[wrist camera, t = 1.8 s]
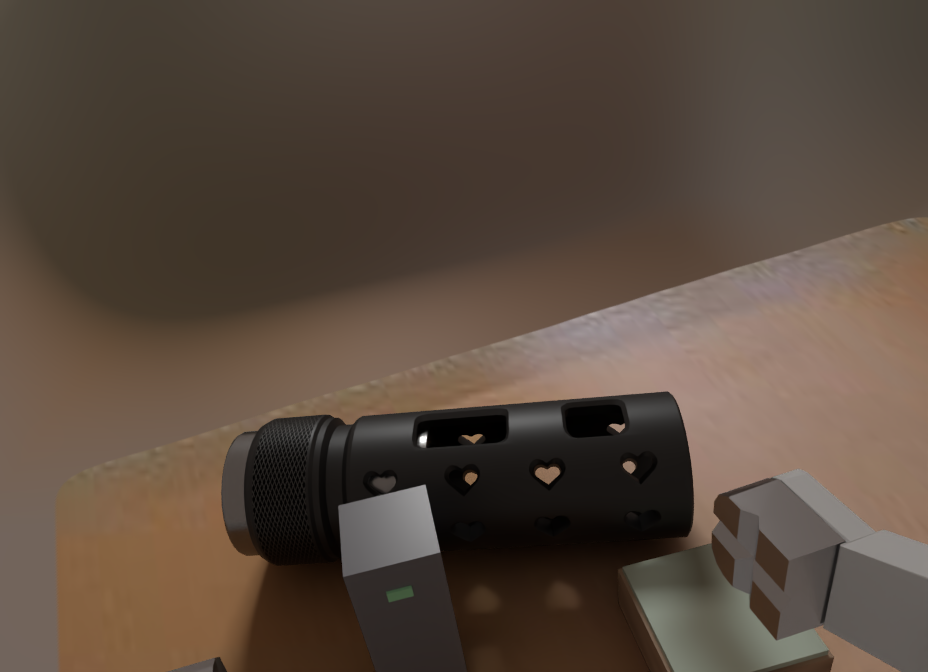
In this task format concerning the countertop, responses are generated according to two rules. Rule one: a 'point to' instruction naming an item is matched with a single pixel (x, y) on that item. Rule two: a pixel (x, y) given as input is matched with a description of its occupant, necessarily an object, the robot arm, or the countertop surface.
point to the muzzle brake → (444, 469)
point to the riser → (706, 621)
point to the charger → (399, 583)
